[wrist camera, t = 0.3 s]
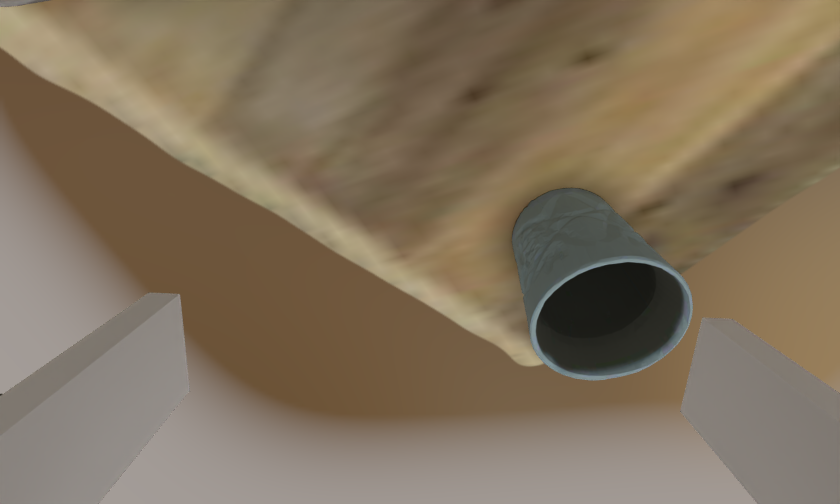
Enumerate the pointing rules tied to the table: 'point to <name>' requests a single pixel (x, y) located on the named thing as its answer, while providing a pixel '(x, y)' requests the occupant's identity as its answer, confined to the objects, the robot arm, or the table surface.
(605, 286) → the grey plant pot
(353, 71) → the table surface
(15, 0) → the pillar candle
